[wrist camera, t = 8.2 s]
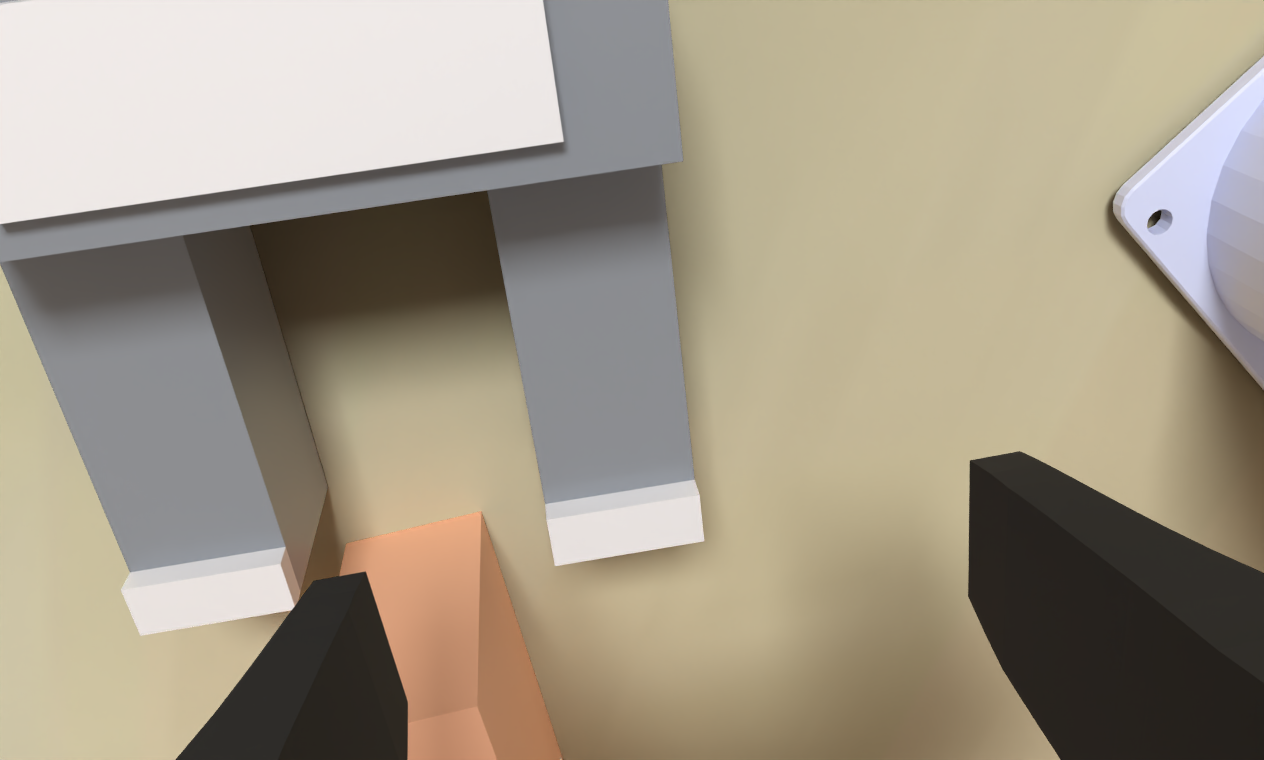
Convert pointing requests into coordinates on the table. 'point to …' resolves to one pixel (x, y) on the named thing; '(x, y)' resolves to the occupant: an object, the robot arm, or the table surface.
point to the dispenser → (322, 184)
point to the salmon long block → (455, 643)
